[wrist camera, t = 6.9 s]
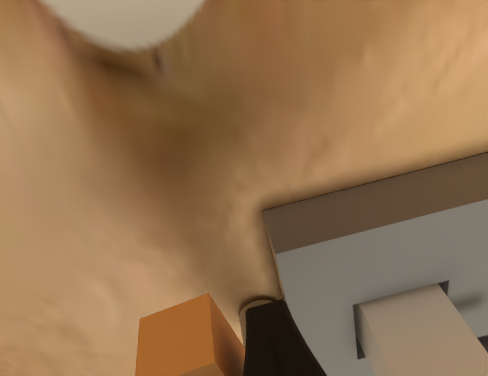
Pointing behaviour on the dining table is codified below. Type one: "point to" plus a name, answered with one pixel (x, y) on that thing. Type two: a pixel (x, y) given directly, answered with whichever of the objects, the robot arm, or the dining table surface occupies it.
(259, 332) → the robot arm
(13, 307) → the dining table surface
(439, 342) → the plug
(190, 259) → the dining table surface
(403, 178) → the power block
